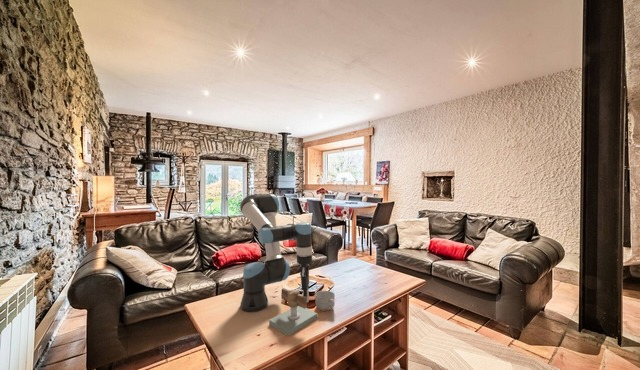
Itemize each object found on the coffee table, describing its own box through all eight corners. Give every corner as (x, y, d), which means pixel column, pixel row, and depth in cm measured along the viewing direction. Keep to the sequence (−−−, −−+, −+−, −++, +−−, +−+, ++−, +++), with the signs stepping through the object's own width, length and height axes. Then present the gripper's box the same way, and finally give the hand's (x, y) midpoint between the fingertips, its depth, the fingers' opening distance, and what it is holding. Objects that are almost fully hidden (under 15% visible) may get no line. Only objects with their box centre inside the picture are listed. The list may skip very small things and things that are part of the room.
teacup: (312, 305, 149) (312, 291, 149) (330, 302, 153) (330, 288, 153) (321, 317, 136) (321, 302, 136) (340, 313, 140) (340, 298, 140)
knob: (287, 297, 140) (286, 285, 140) (310, 307, 129) (310, 294, 129) (278, 301, 135) (278, 289, 135) (301, 312, 124) (301, 298, 124)
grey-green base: (269, 324, 129) (269, 307, 129) (298, 309, 144) (298, 294, 144) (288, 335, 120) (288, 317, 120) (317, 318, 135) (317, 301, 135)
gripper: (299, 250, 136) (300, 295, 136) (294, 258, 123) (296, 308, 124) (313, 250, 135) (315, 295, 136) (310, 258, 122) (311, 308, 123)
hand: (306, 301), depth 130 cm, fingers closed
